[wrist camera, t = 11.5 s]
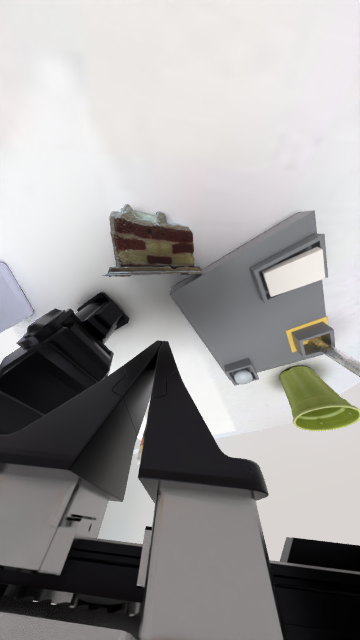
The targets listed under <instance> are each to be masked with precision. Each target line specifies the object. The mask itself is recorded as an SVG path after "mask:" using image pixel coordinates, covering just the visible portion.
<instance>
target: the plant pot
mask: <svg viewBox="0 0 360 640" xmlns="http://www.w3.org/2000/svg"><path fill="white" fill-rule="evenodd" d="M280 380H281V383H282V385H283V388H284V390H285V393H286V396H287V398H288V401H289V404H290V406H291V409H292V415H293V417H294V418H293V423H294V425H295V426H296V427H298V428H300V429H304V430H309V431H310V430H311V431H326V430H333V429H339V428H343V427H346V426H349V425H351V424H354V423H356V422H357V421H359V420H360V410H359V409H358V408H356V407H355V406H352V405H351V404H349V403H348V402H347V401H346V400H344V399H343V398H341V397H340V396H339V395H338V394H337V393H336V392H335V391H334V390H332V389H331V388H330V387H329V386H328V385H327V384H326V383H325V382H324V381H323V380H322V379H321V378H320V377H319V376H318V375H317V374H316V373H314V372H313V371H312V370H311V369H310V368H308V367H305V366H296V367H292V368H290V369H289V370H287V371H283V372H282V373H281V375H280Z"/></svg>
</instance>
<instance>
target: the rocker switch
mask: <svg viewBox="0 0 360 640" xmlns="http://www.w3.org/2000/svg"><path fill="white" fill-rule="evenodd" d="M262 274H263V277H264V280H265V283H266V286H267V289H268V292H269V295H270V296H271V297H272V296H275V295H278V294H281V293H284V292H287V291H290V290H293V289H296V288H299V287H302V286H305V285H307V284H310V283H313V282H316V281H319V280H322V279H325V269H324V258H323V249H321V248H319V247H316V248H313V249H311V250H309V251H306V252H304V253H302V254H299V255H297V256H295V257H292V258H290V259H288V260H286V261H283V262H281V263H279V264H276V265H274V266H272V267H269V268H267V269H265V270H262Z"/></svg>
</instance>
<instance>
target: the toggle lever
mask: <svg viewBox="0 0 360 640" xmlns="http://www.w3.org/2000/svg"><path fill="white" fill-rule="evenodd" d="M308 344H310V345H311V346H313V347H314V348H316V349H317V350H319V351H321V352H322V353H324V354H325V355H327V356H328V357H330V358H331V359H333V360H334V361H336V362H338V363H339V364H341V365H342V366H344V367H345V368H347V369H348V370H350V371H352V372H353V373H355V374H356V375H358V376H359V377H360V362H359V361H357V360H355V359H354V358H352V357H350V356H349V355H347V354H345V353H343V352H342V351H340V350H338V349H337V348H335V347H333V346H331V345H330V344H328V343H326V342H325V341H323V340H321V339H319V338H318V337H316V338H312V339H310V341H309V342H308Z"/></svg>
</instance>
